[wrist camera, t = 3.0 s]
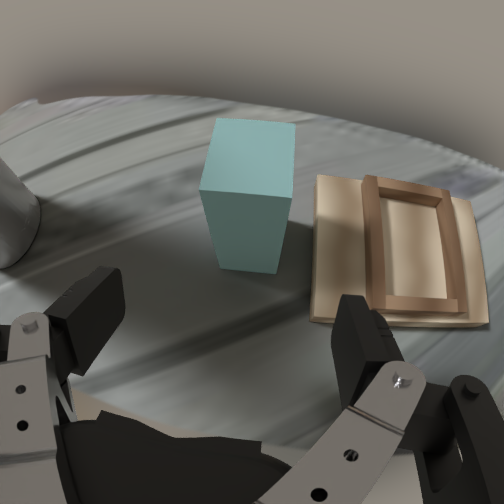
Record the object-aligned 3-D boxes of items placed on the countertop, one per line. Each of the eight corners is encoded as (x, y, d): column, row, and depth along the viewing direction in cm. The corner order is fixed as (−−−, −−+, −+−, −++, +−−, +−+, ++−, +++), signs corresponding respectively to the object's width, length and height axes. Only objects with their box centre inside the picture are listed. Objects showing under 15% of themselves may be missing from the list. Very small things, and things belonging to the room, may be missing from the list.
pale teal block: (220, 268, 25) (198, 189, 15) (228, 213, 27) (216, 118, 17) (276, 274, 25) (292, 197, 15) (280, 217, 27) (295, 123, 16)
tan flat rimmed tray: (309, 321, 23) (318, 311, 20) (314, 187, 28) (320, 163, 25) (475, 327, 23) (499, 318, 19) (460, 211, 27) (477, 193, 24)
